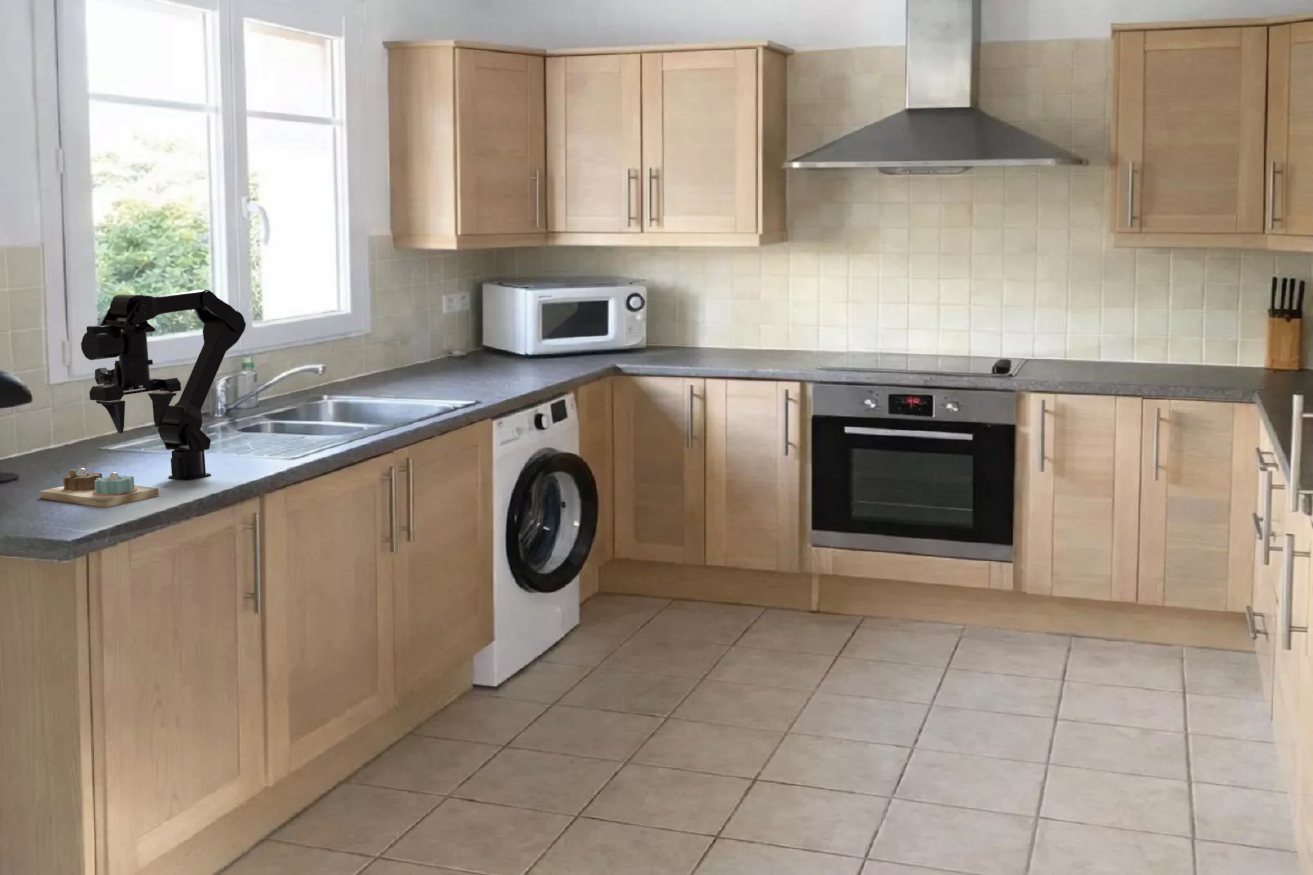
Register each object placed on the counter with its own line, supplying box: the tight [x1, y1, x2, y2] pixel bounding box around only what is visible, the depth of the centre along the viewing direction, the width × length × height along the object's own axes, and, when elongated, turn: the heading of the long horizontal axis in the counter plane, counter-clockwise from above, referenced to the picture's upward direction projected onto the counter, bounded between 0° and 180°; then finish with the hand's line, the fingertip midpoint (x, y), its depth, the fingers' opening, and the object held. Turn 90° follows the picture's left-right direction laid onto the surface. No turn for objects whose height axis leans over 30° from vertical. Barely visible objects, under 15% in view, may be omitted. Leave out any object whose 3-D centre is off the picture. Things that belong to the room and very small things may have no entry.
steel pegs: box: [77, 467, 119, 480], centre depth 290 cm, size 2×12×4 cm, turn 58°
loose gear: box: [95, 474, 135, 494], centre depth 287 cm, size 7×7×2 cm
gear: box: [62, 468, 103, 491], centre depth 293 cm, size 7×7×4 cm
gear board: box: [39, 484, 160, 508], centre depth 290 cm, size 13×20×2 cm, turn 58°
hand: (139, 429), depth 299 cm, fingers open, 9 cm apart
